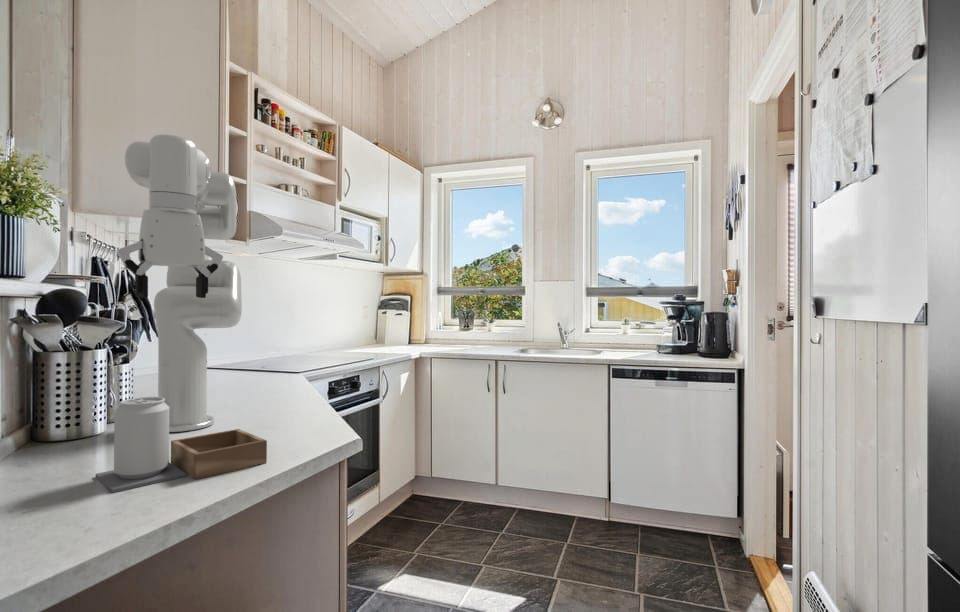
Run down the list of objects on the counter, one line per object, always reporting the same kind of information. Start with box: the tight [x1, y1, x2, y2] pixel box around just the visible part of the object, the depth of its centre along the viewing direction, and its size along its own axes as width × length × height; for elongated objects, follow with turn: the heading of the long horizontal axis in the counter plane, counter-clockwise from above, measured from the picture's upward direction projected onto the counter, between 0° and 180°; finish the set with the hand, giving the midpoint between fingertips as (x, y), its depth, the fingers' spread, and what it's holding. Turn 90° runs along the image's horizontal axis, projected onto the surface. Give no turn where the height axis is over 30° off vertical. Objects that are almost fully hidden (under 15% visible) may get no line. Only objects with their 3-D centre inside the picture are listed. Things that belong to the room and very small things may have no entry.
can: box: [113, 396, 170, 479], centre depth 83 cm, size 8×8×12 cm
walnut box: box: [170, 428, 268, 480], centre depth 90 cm, size 12×12×4 cm
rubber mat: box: [95, 462, 187, 494], centre depth 82 cm, size 10×10×1 cm
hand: (173, 297), depth 95 cm, fingers open, 9 cm apart
